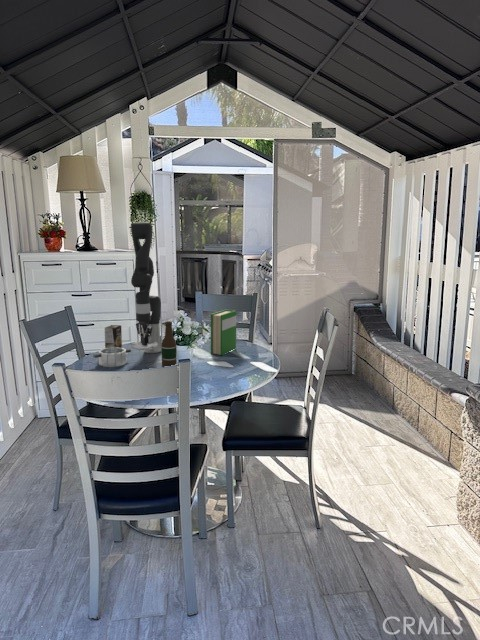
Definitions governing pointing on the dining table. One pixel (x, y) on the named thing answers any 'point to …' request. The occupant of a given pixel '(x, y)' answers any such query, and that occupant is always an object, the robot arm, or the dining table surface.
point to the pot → (112, 356)
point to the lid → (143, 346)
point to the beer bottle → (169, 347)
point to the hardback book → (223, 331)
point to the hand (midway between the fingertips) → (144, 343)
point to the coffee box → (113, 336)
